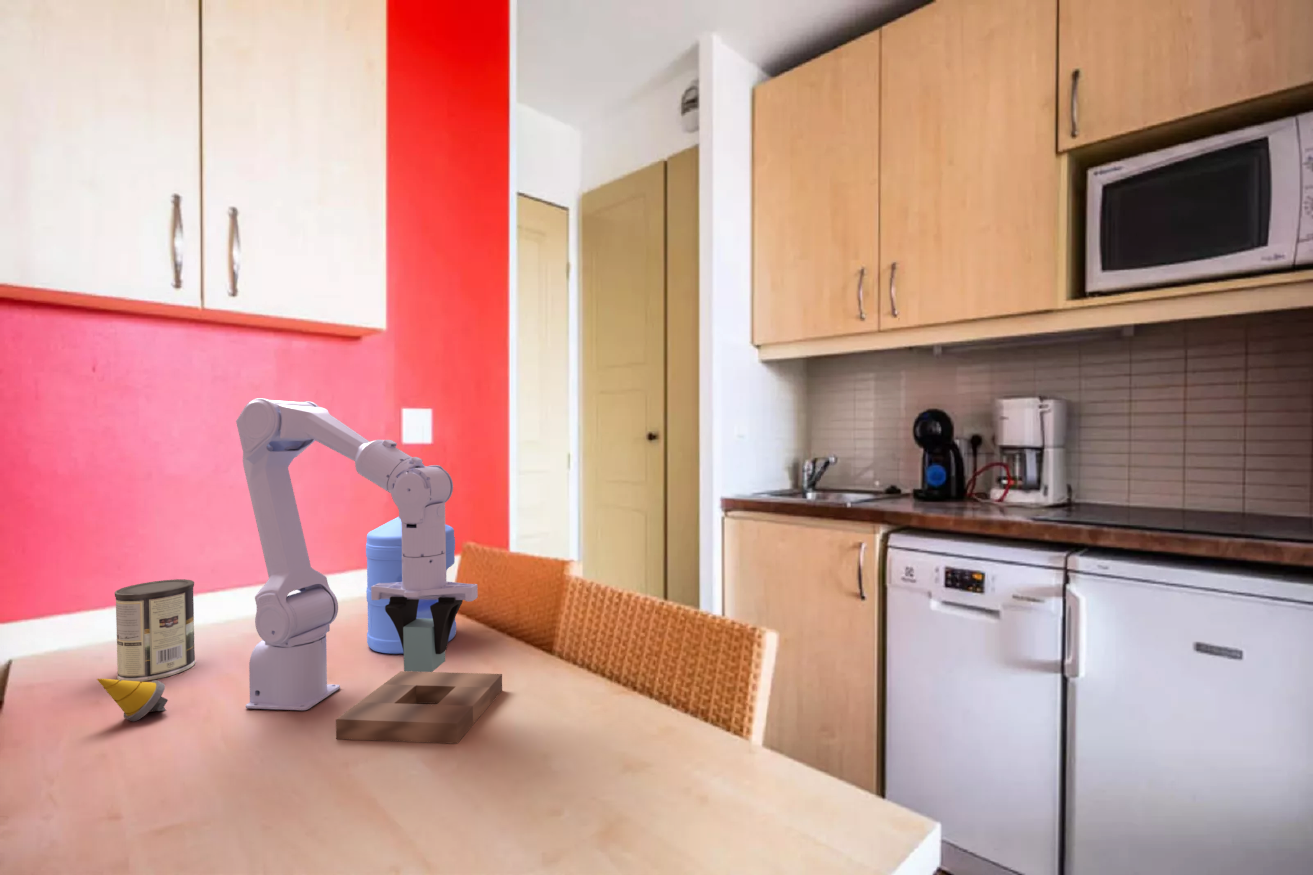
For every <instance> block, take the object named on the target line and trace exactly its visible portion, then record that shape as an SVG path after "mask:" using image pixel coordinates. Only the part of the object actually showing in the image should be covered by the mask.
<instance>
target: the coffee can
mask: <svg viewBox="0 0 1313 875" xmlns="http://www.w3.org/2000/svg"><path fill="white" fill-rule="evenodd" d="M194 586H195V581H194V580H192V579H177V578H176V579H164V580H157V581H147V582H141V583H137V584H132V585H129V586H125V587H122V588H120V589H117V590H115V592H114V597H115V623H116V660H117V661H116V662H117V663H116V664H117V667H116V668H117V676H116V680H119V681H122V680H127V681H140V682H149V681H154V680H159V679H163V678H167V677H170V676H174V675H177V674H179V673H180V674H181V673H183V672H186V671H187V670H189V669H190V668H192V667H193V666H195V664H196V659H195V658H196V656H195V655H196V654H195V619H194V618H195V616H194V615H195V614H194V613H195V612H194V604H195V603H194Z"/></svg>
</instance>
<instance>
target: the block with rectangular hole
mask: <svg viewBox="0 0 1313 875" xmlns="http://www.w3.org/2000/svg"><path fill="white" fill-rule="evenodd" d="M501 692H503V674H502V673H483V672H482V673H480V672H479V673H477V672H443V671H441V672H439V671H438V672H437V671H433V672H413V671H404V670H402V671H399V672H398V673H397V674H395V675H394V676H392V677H391V678H390V679H388V680H387V681H386V682H384V683H383V684H382V685H380V686H379V687H377V688H376V689H375V690H373V691H372V692H370V693H369V694H368V695H367V696H365V697H364V698H363V699H361V700H359V702H357V703H356V704H354V705H353V706H351V707H350V708H349V709H348V710H346V711H345V712H344V713H342V714H341V715H340V716H337V718H336V719H335V739H337V740H358V741H360V740H361V741H381V742H382V741H384V742H407V743H409V742H410V743H411V742H412V743H414V742H415V743H430V744H431V743H434V744H435V743H437V744H458V743H459V742H460V741H461V740H462V738H463V737H464V736H465V735H466V734H467V733H468V731H469V730H470V729H471V728H472V726H474V725H475V723H476V722H477V721H478V720H479V718H481V716H482V715H483V714H484V712H486V710H487V709H488V708H489V707H490V705H491V704H492V703H493V702H494V701H495V700H496V699H497V697H498V696H499V695H500V694H501Z"/></svg>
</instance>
